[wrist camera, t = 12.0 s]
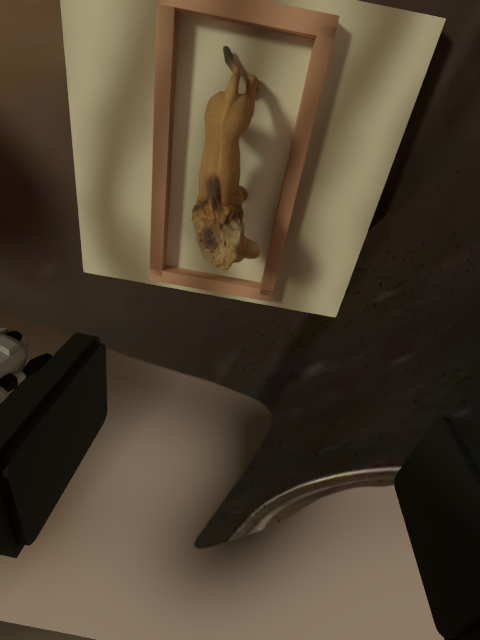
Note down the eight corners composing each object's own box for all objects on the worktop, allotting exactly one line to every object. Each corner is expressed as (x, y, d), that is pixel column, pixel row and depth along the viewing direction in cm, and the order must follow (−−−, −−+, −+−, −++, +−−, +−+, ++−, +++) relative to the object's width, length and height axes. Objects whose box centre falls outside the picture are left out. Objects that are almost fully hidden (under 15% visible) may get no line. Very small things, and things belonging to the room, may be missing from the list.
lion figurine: (262, 240, 27) (260, 279, 20) (207, 241, 27) (188, 280, 21) (260, 44, 20) (256, 17, 14) (188, 49, 21) (154, 24, 15)
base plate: (435, 24, 21) (456, 13, 18) (332, 308, 31) (338, 324, 29) (68, -51, 20) (42, -71, 18) (91, 265, 30) (76, 277, 28)
